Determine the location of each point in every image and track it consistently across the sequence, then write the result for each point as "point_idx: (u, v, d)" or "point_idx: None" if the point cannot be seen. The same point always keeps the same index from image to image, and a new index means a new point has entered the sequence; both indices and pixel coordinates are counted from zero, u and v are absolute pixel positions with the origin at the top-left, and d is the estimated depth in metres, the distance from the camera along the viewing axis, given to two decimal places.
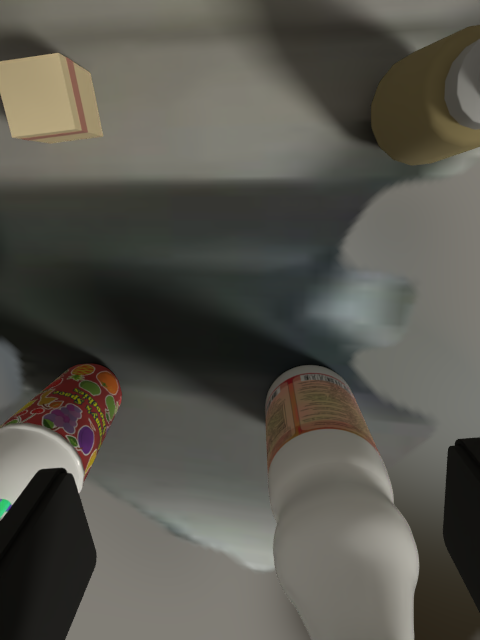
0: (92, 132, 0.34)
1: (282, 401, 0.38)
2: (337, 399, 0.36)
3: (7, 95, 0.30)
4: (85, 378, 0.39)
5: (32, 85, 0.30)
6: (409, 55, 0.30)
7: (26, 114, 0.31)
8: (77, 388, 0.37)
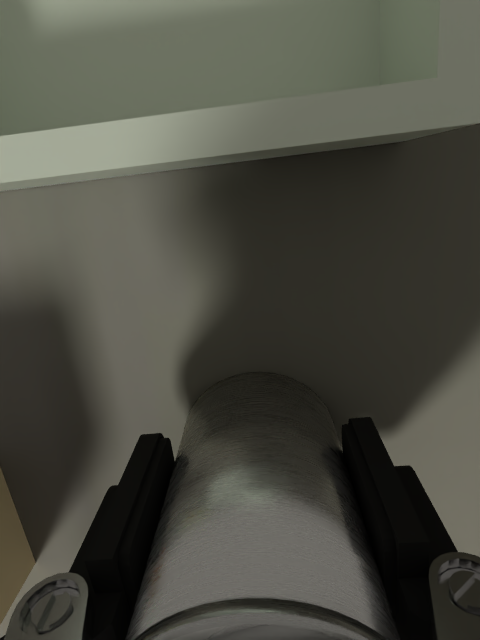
0: None
1: None
2: None
3: None
4: None
5: None
6: None
7: None
8: None
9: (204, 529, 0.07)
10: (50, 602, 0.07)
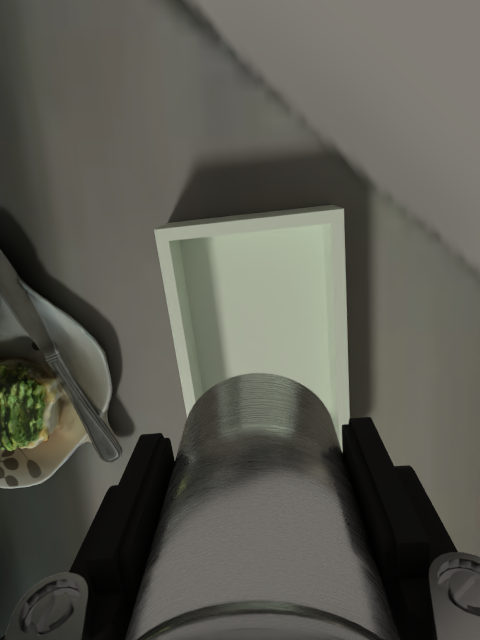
0: None
1: None
2: None
3: None
4: None
5: None
6: None
7: None
8: None
9: (204, 531, 0.07)
10: (50, 602, 0.07)
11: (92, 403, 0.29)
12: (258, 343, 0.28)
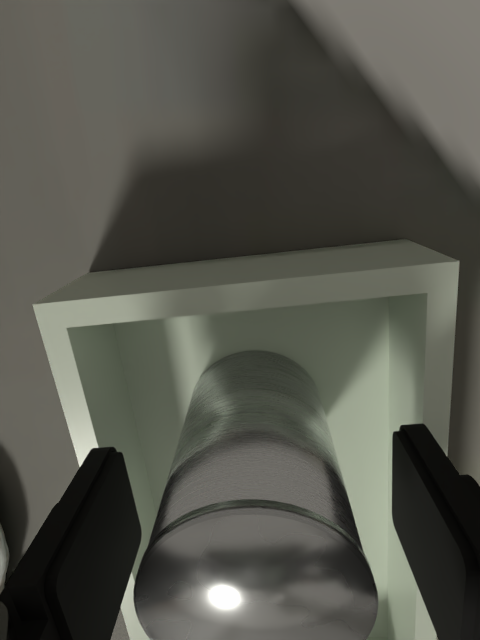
0: None
1: None
2: None
3: None
4: None
5: None
6: None
7: None
8: None
9: (209, 460, 0.09)
10: None
11: None
12: None
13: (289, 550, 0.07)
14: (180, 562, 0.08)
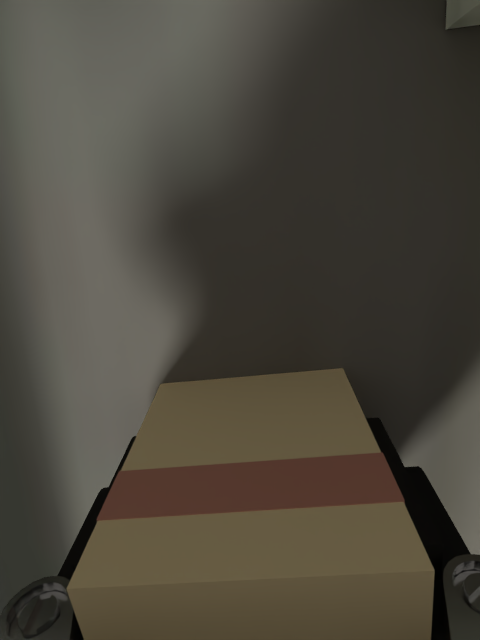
0: None
1: None
2: None
3: (270, 605, 0.06)
4: None
5: None
6: None
7: None
8: None
9: None
10: (37, 606, 0.07)
11: None
12: None
13: None
14: None
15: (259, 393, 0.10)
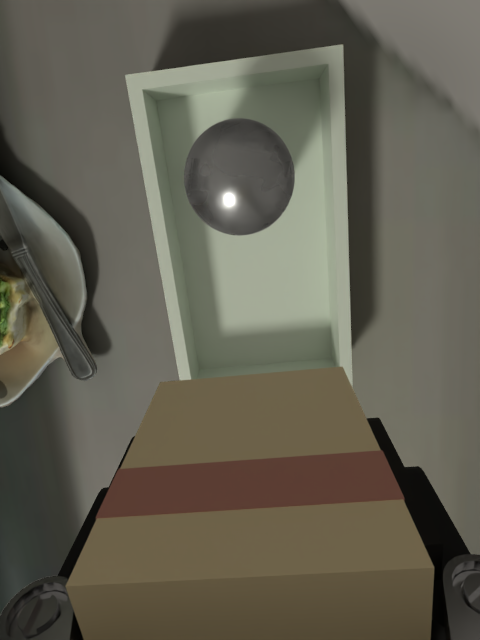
0: None
1: None
2: None
3: (270, 602, 0.06)
4: None
5: None
6: None
7: None
8: None
9: None
10: (38, 606, 0.07)
11: (64, 310, 0.26)
12: None
13: (254, 140, 0.17)
14: (205, 151, 0.17)
15: (259, 391, 0.10)
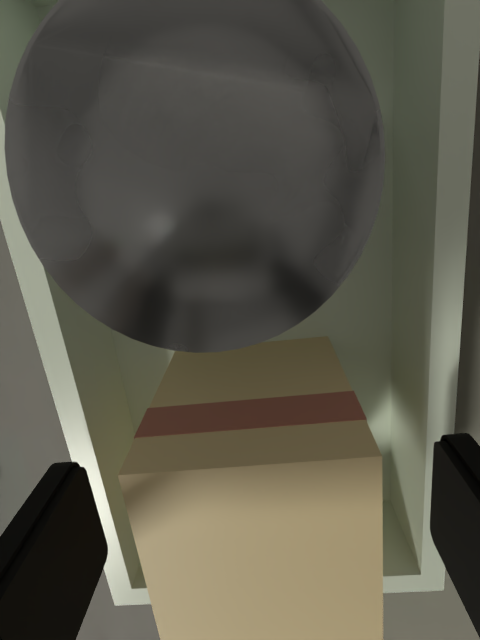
0: None
1: None
2: None
3: (265, 486, 0.08)
4: None
5: (294, 564, 0.08)
6: None
7: (201, 533, 0.08)
8: None
9: None
10: None
11: None
12: None
13: (243, 38, 0.05)
14: (71, 78, 0.05)
15: (258, 355, 0.12)
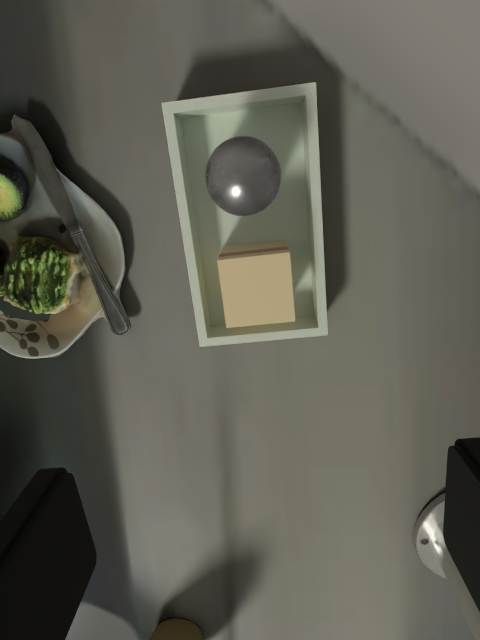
0: None
1: None
2: None
3: (258, 262, 0.28)
4: None
5: (267, 291, 0.29)
6: None
7: (240, 279, 0.29)
8: None
9: None
10: None
11: (108, 279, 0.34)
12: (248, 219, 0.33)
13: (253, 151, 0.25)
14: (220, 158, 0.25)
15: (256, 244, 0.33)
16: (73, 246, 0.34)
